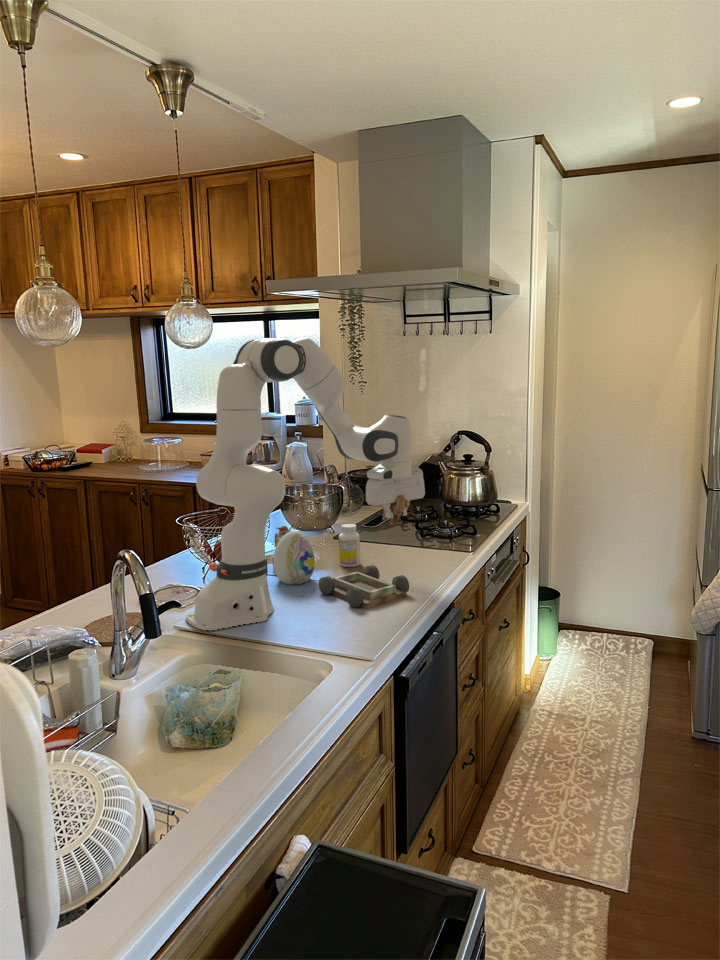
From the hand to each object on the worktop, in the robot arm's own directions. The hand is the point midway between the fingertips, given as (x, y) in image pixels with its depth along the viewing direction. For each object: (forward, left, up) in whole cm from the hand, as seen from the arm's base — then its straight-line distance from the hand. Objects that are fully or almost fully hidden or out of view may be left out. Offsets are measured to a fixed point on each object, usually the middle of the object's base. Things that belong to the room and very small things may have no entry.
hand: (396, 516), depth 212 cm
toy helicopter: (-19, +34, -19) cm, 43 cm away
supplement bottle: (-3, +20, -19) cm, 27 cm away
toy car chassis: (-17, -5, -19) cm, 26 cm away
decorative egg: (-25, +18, -19) cm, 36 cm away
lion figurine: (+1, +3, -2) cm, 4 cm away
